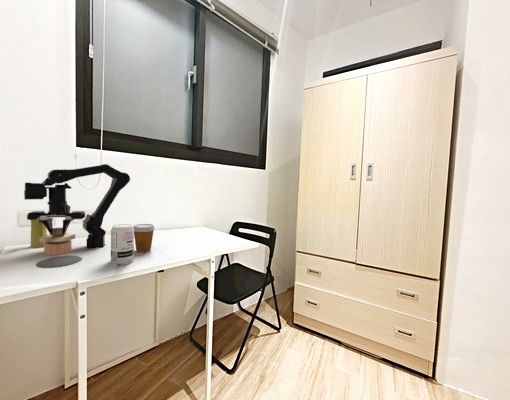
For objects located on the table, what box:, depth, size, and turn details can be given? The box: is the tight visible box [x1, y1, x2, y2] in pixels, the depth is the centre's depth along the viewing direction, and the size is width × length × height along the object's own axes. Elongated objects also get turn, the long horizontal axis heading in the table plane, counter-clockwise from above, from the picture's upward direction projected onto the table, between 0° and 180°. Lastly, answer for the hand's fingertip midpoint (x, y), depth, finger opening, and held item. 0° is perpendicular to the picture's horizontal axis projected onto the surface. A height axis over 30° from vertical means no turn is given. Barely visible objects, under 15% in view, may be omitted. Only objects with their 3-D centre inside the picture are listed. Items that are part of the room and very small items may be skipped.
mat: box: [35, 255, 83, 269], centre depth 94 cm, size 14×14×1 cm
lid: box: [40, 227, 76, 242], centre depth 105 cm, size 12×12×4 cm
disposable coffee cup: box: [133, 223, 156, 253], centre depth 115 cm, size 10×10×12 cm
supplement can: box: [110, 223, 135, 266], centre depth 98 cm, size 8×8×15 cm
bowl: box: [43, 240, 73, 256], centre depth 105 cm, size 9×9×5 cm
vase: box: [29, 217, 48, 249], centre depth 112 cm, size 6×6×14 cm
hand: (58, 234), depth 105 cm, fingers closed on lid, 4 cm apart
